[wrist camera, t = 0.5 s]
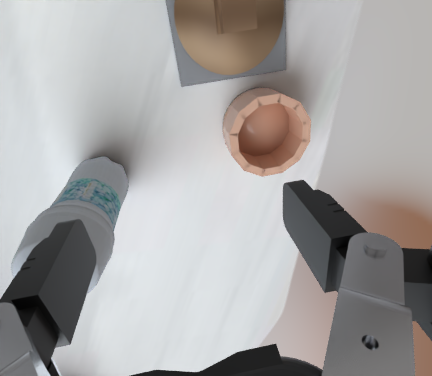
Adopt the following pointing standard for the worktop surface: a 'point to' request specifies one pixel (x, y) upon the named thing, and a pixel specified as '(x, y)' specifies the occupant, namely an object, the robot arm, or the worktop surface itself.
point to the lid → (228, 32)
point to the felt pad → (197, 74)
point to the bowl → (266, 131)
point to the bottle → (83, 211)
